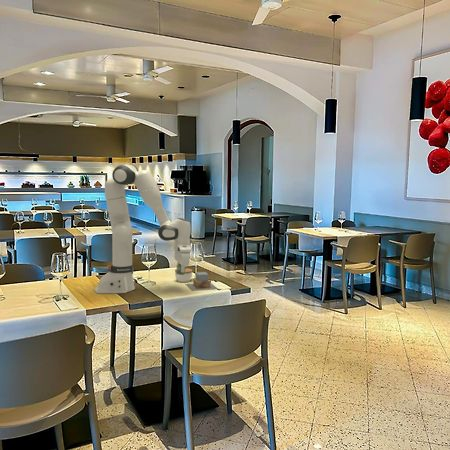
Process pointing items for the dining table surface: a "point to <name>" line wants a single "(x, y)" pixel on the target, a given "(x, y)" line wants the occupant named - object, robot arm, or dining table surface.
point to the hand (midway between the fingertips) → (180, 270)
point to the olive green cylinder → (179, 270)
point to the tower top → (201, 276)
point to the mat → (201, 288)
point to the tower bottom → (201, 284)
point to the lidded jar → (186, 276)
